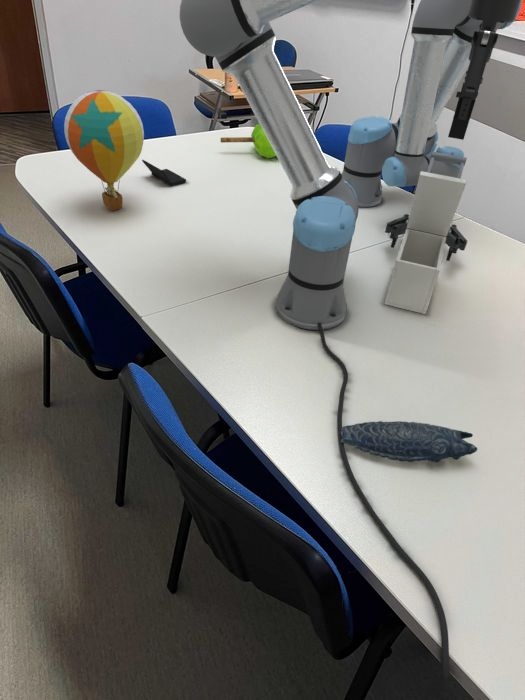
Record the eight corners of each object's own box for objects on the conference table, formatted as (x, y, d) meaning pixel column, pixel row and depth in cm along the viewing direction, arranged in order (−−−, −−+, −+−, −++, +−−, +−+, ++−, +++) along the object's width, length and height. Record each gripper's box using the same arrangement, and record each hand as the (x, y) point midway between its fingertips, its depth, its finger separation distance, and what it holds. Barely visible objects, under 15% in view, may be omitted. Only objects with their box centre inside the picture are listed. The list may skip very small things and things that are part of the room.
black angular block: (190, 175, 164) (173, 153, 156) (179, 193, 163) (161, 172, 155) (166, 170, 170) (147, 148, 162) (155, 188, 169) (136, 167, 161)
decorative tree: (217, 117, 188) (297, 117, 193) (217, 147, 194) (295, 146, 200) (224, 132, 174) (310, 131, 180) (224, 163, 181) (307, 162, 186)
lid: (466, 183, 104) (474, 151, 107) (419, 174, 106) (429, 143, 109) (446, 236, 120) (454, 207, 123) (406, 227, 122) (415, 199, 125)
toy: (64, 203, 145) (44, 85, 127) (127, 189, 156) (117, 79, 137) (97, 229, 134) (80, 105, 116) (162, 213, 145) (156, 96, 126)
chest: (425, 314, 115) (440, 270, 108) (384, 304, 117) (395, 260, 110) (432, 278, 128) (446, 236, 121) (395, 269, 130) (406, 228, 123)
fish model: (475, 475, 80) (486, 454, 77) (339, 458, 81) (344, 436, 78) (466, 443, 85) (476, 422, 82) (339, 427, 86) (344, 405, 83)
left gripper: (477, -15, 94) (442, 110, 107) (471, -7, 75) (431, 142, 89) (520, -10, 93) (480, 116, 106) (525, -1, 74) (476, 150, 87)
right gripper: (473, 239, 141) (468, 275, 125) (383, 219, 147) (367, 250, 131) (483, 213, 137) (479, 247, 121) (389, 194, 143) (373, 223, 127)
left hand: (457, 128), depth 97 cm, fingers open, 13 cm apart
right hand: (421, 249), depth 126 cm, fingers open, 13 cm apart
